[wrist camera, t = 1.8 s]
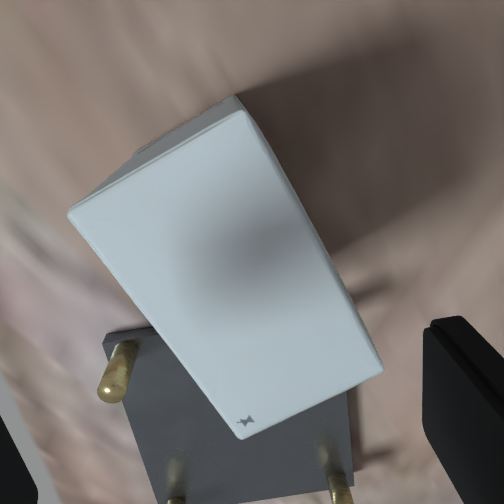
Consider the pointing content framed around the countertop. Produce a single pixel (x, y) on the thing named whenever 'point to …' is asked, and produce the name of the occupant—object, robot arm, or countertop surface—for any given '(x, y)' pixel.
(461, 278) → the countertop surface
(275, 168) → the skincare box
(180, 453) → the chassis
